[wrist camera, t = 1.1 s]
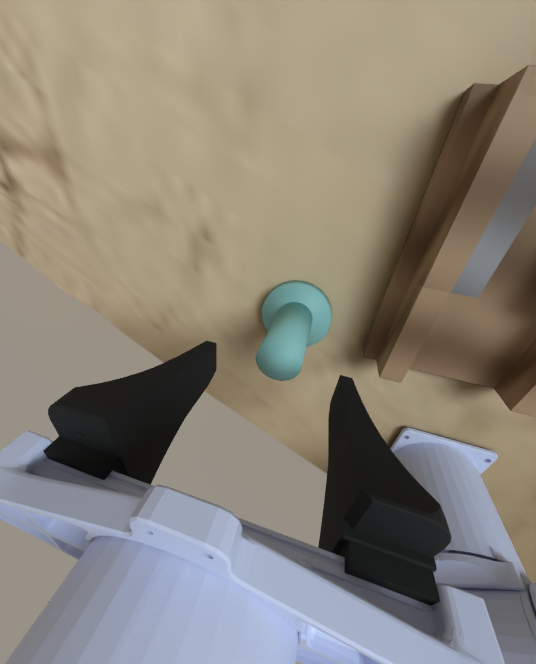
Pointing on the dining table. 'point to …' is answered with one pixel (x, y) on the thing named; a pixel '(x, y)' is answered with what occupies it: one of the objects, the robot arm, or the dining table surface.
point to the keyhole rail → (472, 255)
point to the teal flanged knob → (291, 327)
